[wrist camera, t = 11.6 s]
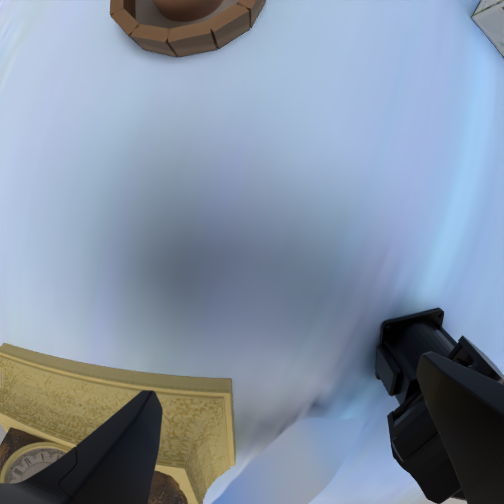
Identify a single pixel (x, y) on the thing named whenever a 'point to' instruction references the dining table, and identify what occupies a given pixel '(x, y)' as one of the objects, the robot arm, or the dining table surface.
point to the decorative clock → (102, 408)
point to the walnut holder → (184, 26)
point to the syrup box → (491, 21)
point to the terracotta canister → (186, 9)
